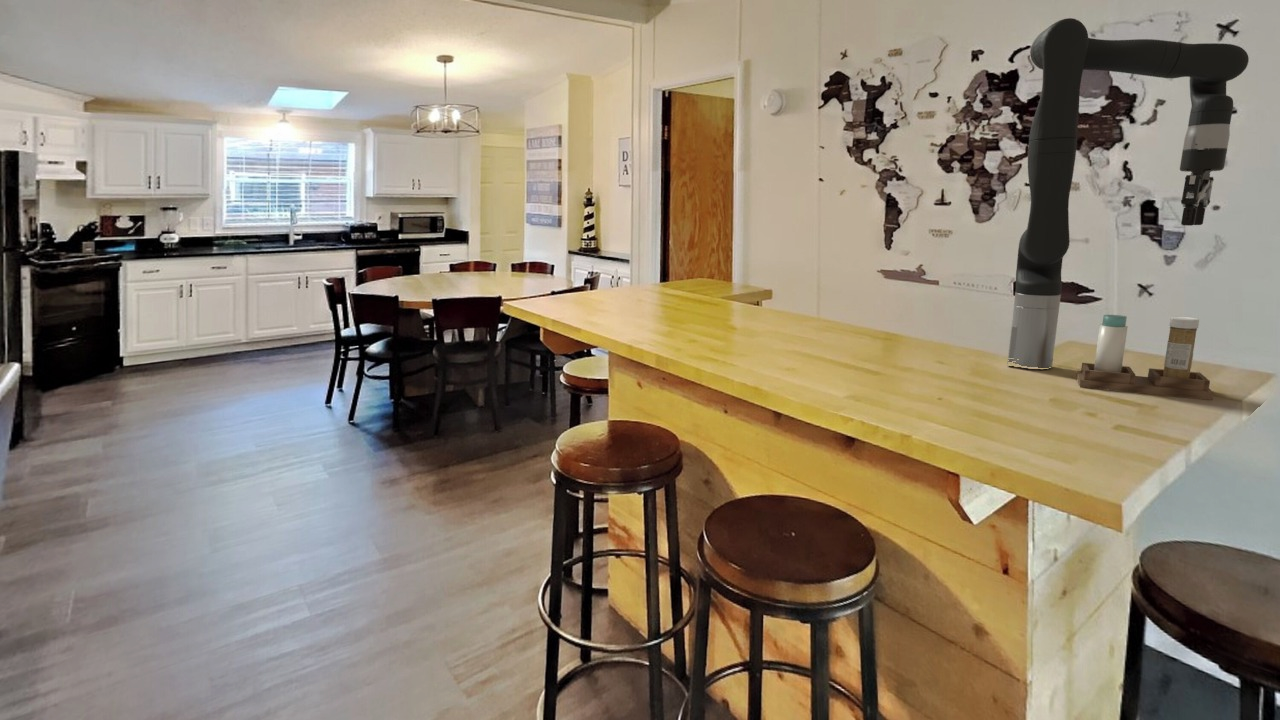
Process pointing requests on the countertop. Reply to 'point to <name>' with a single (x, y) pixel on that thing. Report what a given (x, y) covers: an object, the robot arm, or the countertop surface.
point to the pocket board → (1146, 382)
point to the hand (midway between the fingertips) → (1191, 225)
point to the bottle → (1111, 344)
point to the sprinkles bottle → (1180, 347)
